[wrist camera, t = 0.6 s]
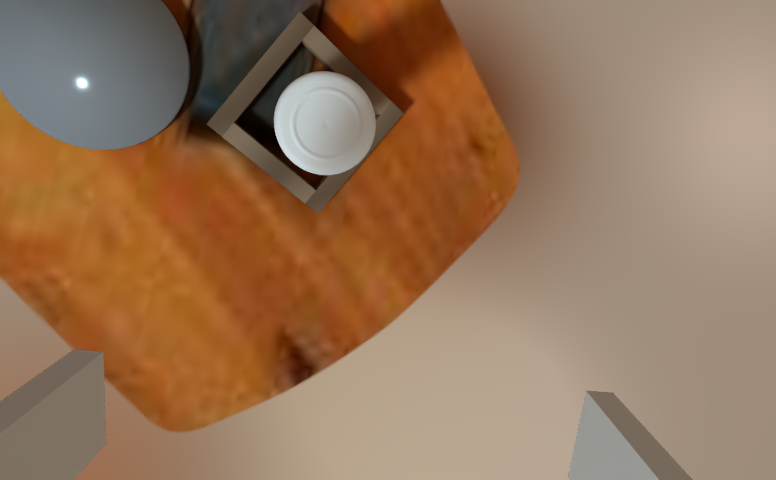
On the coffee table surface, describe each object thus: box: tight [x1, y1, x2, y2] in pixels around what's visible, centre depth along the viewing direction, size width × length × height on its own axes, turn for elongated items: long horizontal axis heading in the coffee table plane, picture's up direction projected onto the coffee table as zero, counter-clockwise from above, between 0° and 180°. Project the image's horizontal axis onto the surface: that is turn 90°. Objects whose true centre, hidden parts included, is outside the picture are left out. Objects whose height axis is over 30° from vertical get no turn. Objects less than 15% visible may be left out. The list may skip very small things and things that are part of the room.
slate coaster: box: [0, 0, 191, 150], centre depth 29 cm, size 11×11×1 cm
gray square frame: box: [207, 12, 404, 213], centre depth 33 cm, size 9×9×1 cm
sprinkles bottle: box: [274, 71, 376, 175], centre depth 27 cm, size 5×5×13 cm
